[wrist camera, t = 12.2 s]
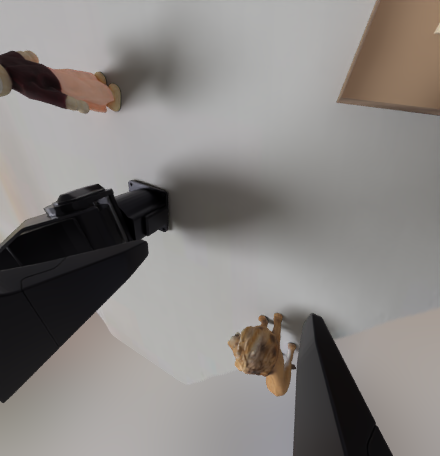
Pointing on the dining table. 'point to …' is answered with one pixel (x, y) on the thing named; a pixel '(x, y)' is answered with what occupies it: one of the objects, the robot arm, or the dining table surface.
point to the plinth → (398, 59)
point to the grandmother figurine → (56, 84)
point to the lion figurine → (264, 354)
